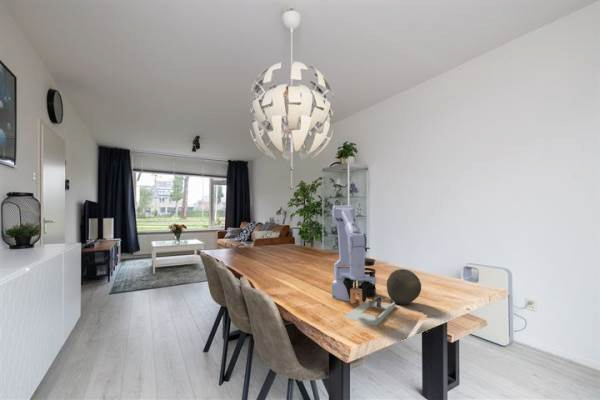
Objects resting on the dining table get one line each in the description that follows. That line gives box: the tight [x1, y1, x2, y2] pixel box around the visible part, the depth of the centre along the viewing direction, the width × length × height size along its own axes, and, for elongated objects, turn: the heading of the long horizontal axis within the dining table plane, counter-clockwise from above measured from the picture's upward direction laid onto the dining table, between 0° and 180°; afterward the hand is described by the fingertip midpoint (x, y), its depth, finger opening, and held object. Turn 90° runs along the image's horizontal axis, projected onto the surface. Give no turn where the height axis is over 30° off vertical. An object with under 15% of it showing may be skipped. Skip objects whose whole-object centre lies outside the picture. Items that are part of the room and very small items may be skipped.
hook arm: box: [368, 295, 382, 309], centre depth 109 cm, size 2×11×6 cm, turn 144°
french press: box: [353, 246, 377, 298], centre depth 133 cm, size 12×9×23 cm
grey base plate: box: [343, 300, 396, 327], centre depth 108 cm, size 13×22×3 cm, turn 144°
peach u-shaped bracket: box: [349, 287, 365, 306], centre depth 104 cm, size 5×2×5 cm, turn 54°
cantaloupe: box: [386, 268, 422, 305], centre depth 120 cm, size 14×14×15 cm
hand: (357, 299), depth 104 cm, fingers closed on peach u-shaped bracket, 5 cm apart
